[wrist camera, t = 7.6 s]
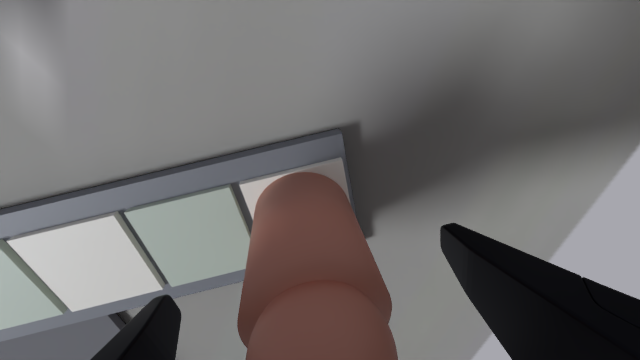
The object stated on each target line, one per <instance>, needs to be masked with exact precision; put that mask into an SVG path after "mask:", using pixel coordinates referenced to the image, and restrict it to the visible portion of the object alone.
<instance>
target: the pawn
mask: <svg viewBox="0 0 640 360" xmlns="http://www.w3.org/2000/svg"><path fill="white" fill-rule="evenodd" d="M391 311H392V302H391V298H390V294H389V292H388V290H387V288H386V285H385V283H384V281H383V278H382V276H381V274H380V271H379V269H378V267H377V265H376V262H375V260H374V258H373V255H372V253H371V251H370V248H369V246H368V244H367V242H366V239H365V237H364V235H363V232H362V230H361V228H360V225H359V223H358V221H357V219H356V216H355V214H354V212H353V209H352V207H351V205H350V203H349V200H348V198H347V196H346V194H345V192H344V190H343V189H342V188H341V187H340V186H339V185H338V184H337V183H336V182H335V181H333V180H332V179H330V178H328V177H326V176H324V175H321V174H318V173H312V172H297V173H292V174H288V175H285V176H283V177H281V178H278V179H277V180H275V181H273V182H272V183H271V184H270V185H268V186H267V187H266V188H265V189H264V191H263V192H262V193H261V195H260V196H259V198H258V200H257V203H256V206H255V212H254V218H253V225H252V231H251V238H250V244H249V250H248V257H247V263H246V270H245V276H244V282H243V289H242V295H241V302H240V308H239V314H238V332H239V335H240V338H241V340H242V342H243V343H244V345H245V346H246V347H247V348H248V349H247V354H246V360H398V356H397V351H396V346H395V342H394V338H393V335H392V332H391V330H390V328H389V326H388V323H389V320H390V317H391Z"/></svg>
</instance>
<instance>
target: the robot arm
mask: <svg viewBox="0 0 640 360" xmlns="http://www.w3.org/2000/svg"><path fill="white" fill-rule="evenodd" d="M440 241H441V249H442V252H443V254H444V255H445V257H446V259H447V261H448V263H449V264H450V266H451V268H452V270H453V272H454V273H455V275H456V277H457V279H458V281H459V282H460V284H461V286H462V288H463V289H464V291H465V293H466V294H467V296H468V297H469V299H470V300H471V302H472V303H473V305H474V306H475V307H476V309H477V310H478V312H479V313H480V315H481V316H482V317H483V319H484V320H485V322H486V323H487V325H488V326H489V327H490V329H491V330H492V332H493V333H494V334H495V336H496V337H497V339H498V340H499V342H500V343H501V344H502V346H503V347H504V349H505V350H506V352H507V353H508V354H509V356H510V357H511V359H512V360H640V300H639V299H636V298H634V297H631V296H629V295H626V294H624V293H621V292H619V291H616V290H613V289H611V288H609V287H606V286H604V285H601V284H599V283H597V282H594V281H592V280H589V279H587V278H584V277H583V278H581V276H580V275H577V274H575V273H573V272H570V271H568V270H565V269H563V268H561V267H558V266H556V265H554V264H551V263H549V262H546V261H544V260H542V259H539V258H537V257H534V256H532V255H530V254H527V253H525V252H523V251H520V250H518V249H515V248H513V247H511V246H508V245H506V244H504V243H501V242H499V241H496V240H494V239H492V238H489V237H487V236H484V235H482V234H480V233H477V232H475V231H473V230H470V229H468V228H465V227H463V226H461V225H458V224H456V223H450V224H446V225H443V226H441V230H440ZM180 323H181V312H180V309H179V308H178V306H177V305H176V303H175V302H174V300H173V299H172V297H171V296H170V295H168V294H165V295H161V296H157V297H155V298H153V299H152V300H151V301H150V302H149V303H148V304H147V305H146V306H145V307H144V308H143V309H142V310H141V311H140V312H139V313H138V314H137V315H136V316H135V317H134V318H133V319H132V320H130V321H129V322H128V323H127V324H126V325H125V326H124V327H123V328H122V329H121V330H120V331H119V332H118V333H117V334H116V335H115V336H114V337H113V338H112V339H111V340H110V341H109V342H108V343H107V344H106V345H105V346H104V347H103V348H102V349H101V350H100V351H98V352H97V353H96V354H95V355H94V356H93V357H92V358H91V359H90V360H175V357H176V350H177V343H178V337H179V330H180Z"/></svg>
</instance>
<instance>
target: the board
mask: <svg viewBox="0 0 640 360" xmlns="http://www.w3.org/2000/svg"><path fill="white" fill-rule="evenodd" d="M297 172H312V173H318V174H321V175H324V176H326V177H328V178H330V179H332V180H333V181H335V182H336V183H337V184H338V185H339V186H340V187H341V188H342V189H343V190H344V192H345V194H346V196H347V198H348V200H349V203H350V205H351V207H352V209H353V212H354V214H355V216H356V211H355V206H354V200H353V194H352V188H351V183H350V177H349V171H348V165H347V160H346V154H345V148H344V142H343V137H342V133H341V131H340V130H339V129H334V130H330V131H326V132H322V133H318V134H313V135H309V136H305V137H301V138H297V139H293V140H288V141H284V142H280V143H276V144H272V145H268V146H263V147H259V148H255V149H251V150H247V151H242V152H238V153H234V154H230V155H226V156H222V157H217V158H213V159H209V160H205V161H201V162H197V163H192V164H188V165H184V166H180V167H176V168H171V169H167V170H163V171H159V172H155V173H151V174H146V175H142V176H138V177H134V178H130V179H126V180H121V181H117V182H113V183H109V184H105V185H100V186H96V187H92V188H88V189H84V190H80V191H75V192H71V193H67V194H63V195H59V196H55V197H50V198H46V199H42V200H38V201H34V202H29V203H25V204H21V205H17V206H13V207H9V208H4V209H0V342H2V341H6V340H10V339H14V338H18V337H21V336H25V335H29V334H33V333H37V332H41V331H45V330H49V329H53V328H57V327H61V326H65V325H69V324H73V323H77V322H81V321H85V320H89V319H93V318H97V317H101V316H105V315H109V314H113V313H117V312H121V311H125V310H129V309H133V308H137V307H141V306H145V305H147V304H148V303H149V302H150V301H151V300H152V299H153V298H155V297H157V296H161V295H165V294H168V295H170V296H171V297H172V299H173V298H177V297H181V296H185V295H189V294H193V293H197V292H201V291H205V290H209V289H213V288H217V287H221V286H225V285H229V284H233V283H237V282H241V281H244V276H245V270H246V263H247V257H248V250H249V244H250V238H251V231H252V225H253V218H254V212H255V206H256V203H257V200H258V198H259V196H260V195H261V193H262V192H263V191H264V189H265V188H266V187H267V186H268V185H270V184H271V183H272V182H273V181H275V180H277V179H278V178H281V177H283V176H285V175H288V174H292V173H297ZM356 219H357V217H356Z"/></svg>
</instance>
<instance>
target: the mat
mask: <svg viewBox="0 0 640 360" xmlns="http://www.w3.org/2000/svg"><path fill="white" fill-rule="evenodd" d="M124 326H125V324H124V322H123V321H122V320H121V319H120V317H119V316H118V315H117V314H116V313H113V314H109V315H105V316H101V317H97V318H93V319H89V320H85V321H81V322H77V323H73V324H69V325H65V326H61V327H57V328H53V329H49V330H45V331H41V332H37V333H33V334H29V335H25V336H21V337H18V338H14V339H10V340H6V341H2V342H0V360H90V359H91V358H92V357H93V356H94V355H95V354H96V353H97V352H98V351H100V350H101V349H102V348H103V347H104V346H105V345H106V344H107V343H108V342H109V341H110V340H111V339H112V338H113V337H114V336H115V335H116V334H117V333H118V332H119V331H120V330H121V329H122V328H123V327H124Z"/></svg>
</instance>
